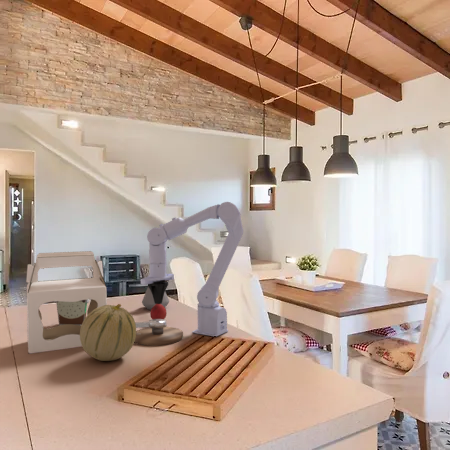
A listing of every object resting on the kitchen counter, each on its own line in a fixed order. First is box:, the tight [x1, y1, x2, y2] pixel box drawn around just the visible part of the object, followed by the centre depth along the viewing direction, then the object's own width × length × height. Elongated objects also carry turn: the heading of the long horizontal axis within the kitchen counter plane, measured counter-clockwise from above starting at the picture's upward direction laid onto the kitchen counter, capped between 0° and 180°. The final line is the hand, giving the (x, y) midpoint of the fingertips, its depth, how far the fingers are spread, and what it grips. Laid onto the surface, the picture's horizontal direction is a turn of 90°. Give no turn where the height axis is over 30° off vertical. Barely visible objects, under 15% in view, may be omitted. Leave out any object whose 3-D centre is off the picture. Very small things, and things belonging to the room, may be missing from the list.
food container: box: [54, 299, 90, 326], centre depth 151 cm, size 12×6×10 cm, turn 84°
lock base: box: [134, 326, 184, 346], centre depth 131 cm, size 16×16×4 cm
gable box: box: [25, 250, 108, 354], centre depth 127 cm, size 22×13×28 cm, turn 117°
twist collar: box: [135, 318, 168, 329], centre depth 130 cm, size 14×6×2 cm, turn 104°
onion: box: [149, 304, 167, 320], centre depth 149 cm, size 6×6×8 cm
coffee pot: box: [141, 280, 174, 311], centre depth 171 cm, size 21×12×15 cm, turn 32°
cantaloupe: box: [80, 303, 137, 362], centre depth 111 cm, size 15×15×15 cm
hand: (158, 303), depth 139 cm, fingers closed
